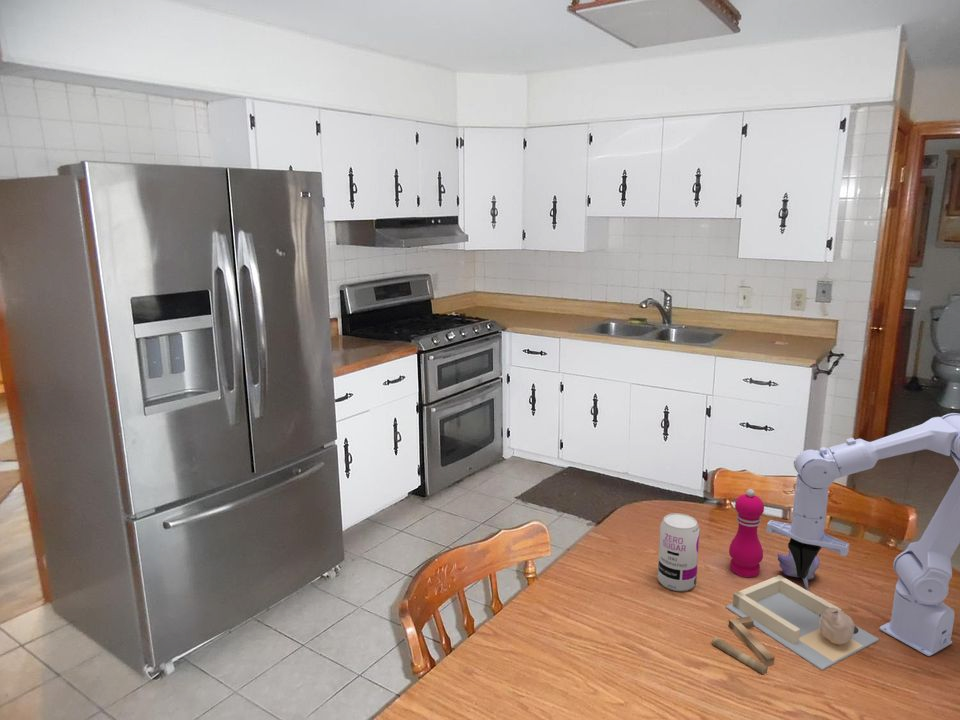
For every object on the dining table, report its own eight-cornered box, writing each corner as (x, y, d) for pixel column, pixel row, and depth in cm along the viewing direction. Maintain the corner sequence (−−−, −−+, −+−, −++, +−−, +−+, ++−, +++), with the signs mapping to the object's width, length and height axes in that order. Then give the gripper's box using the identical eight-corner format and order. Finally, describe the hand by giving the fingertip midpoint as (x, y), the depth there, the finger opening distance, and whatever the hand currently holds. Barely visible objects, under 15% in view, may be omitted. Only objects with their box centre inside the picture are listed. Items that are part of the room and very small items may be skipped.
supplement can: (691, 573, 153) (695, 512, 150) (699, 593, 146) (703, 530, 142) (655, 571, 154) (658, 511, 151) (660, 592, 146) (664, 529, 143)
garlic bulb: (808, 633, 131) (812, 597, 129) (832, 625, 134) (837, 589, 132) (837, 654, 125) (842, 616, 123) (862, 645, 128) (867, 608, 126)
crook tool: (787, 662, 124) (788, 654, 124) (766, 666, 123) (766, 658, 123) (748, 623, 136) (748, 616, 135) (728, 626, 135) (729, 619, 134)
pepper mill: (764, 580, 150) (771, 497, 145) (729, 576, 152) (735, 495, 147) (759, 563, 157) (765, 483, 152) (726, 560, 159) (731, 481, 154)
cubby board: (879, 640, 130) (881, 626, 129) (821, 670, 122) (823, 655, 121) (780, 584, 148) (781, 572, 148) (725, 607, 141) (726, 594, 140)
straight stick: (761, 675, 121) (766, 672, 122) (763, 667, 121) (768, 664, 122) (709, 644, 129) (714, 642, 130) (710, 637, 129) (715, 634, 130)
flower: (834, 570, 142) (809, 533, 149) (797, 585, 143) (773, 547, 150) (836, 589, 148) (811, 552, 155) (799, 603, 149) (777, 565, 156)
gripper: (856, 516, 128) (848, 580, 131) (778, 494, 137) (772, 555, 141) (845, 529, 123) (837, 596, 126) (765, 506, 132) (759, 568, 136)
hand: (802, 575), depth 133 cm, fingers closed
